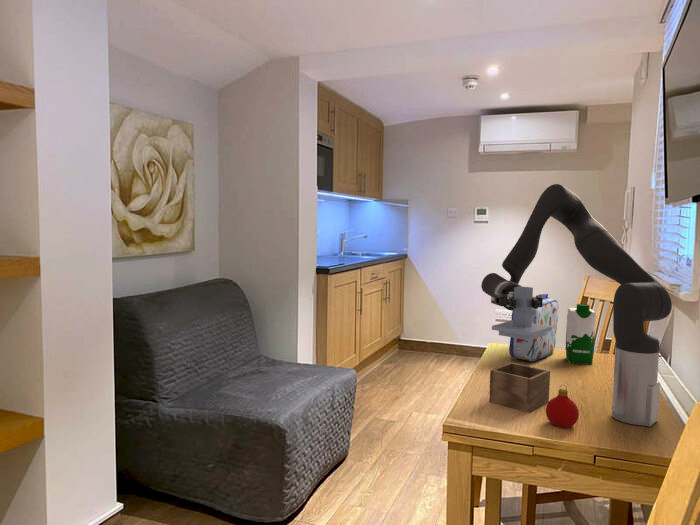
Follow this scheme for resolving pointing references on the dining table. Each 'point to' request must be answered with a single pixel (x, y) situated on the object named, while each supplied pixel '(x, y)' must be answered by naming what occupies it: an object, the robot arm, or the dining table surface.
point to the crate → (519, 387)
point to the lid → (522, 318)
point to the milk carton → (580, 334)
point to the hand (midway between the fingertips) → (525, 304)
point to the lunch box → (543, 344)
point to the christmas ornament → (562, 410)
